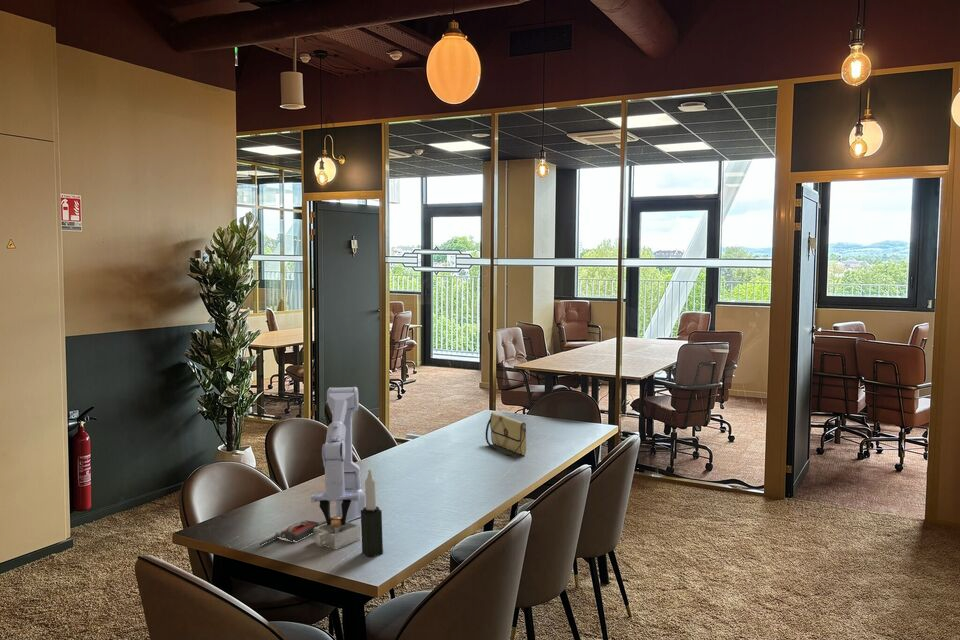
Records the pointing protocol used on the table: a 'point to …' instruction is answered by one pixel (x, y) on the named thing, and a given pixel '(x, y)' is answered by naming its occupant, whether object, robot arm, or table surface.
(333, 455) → the robot arm
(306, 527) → the walkie-talkie
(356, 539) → the square tray with tab
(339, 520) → the square lid with knob
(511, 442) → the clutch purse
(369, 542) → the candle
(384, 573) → the table surface
